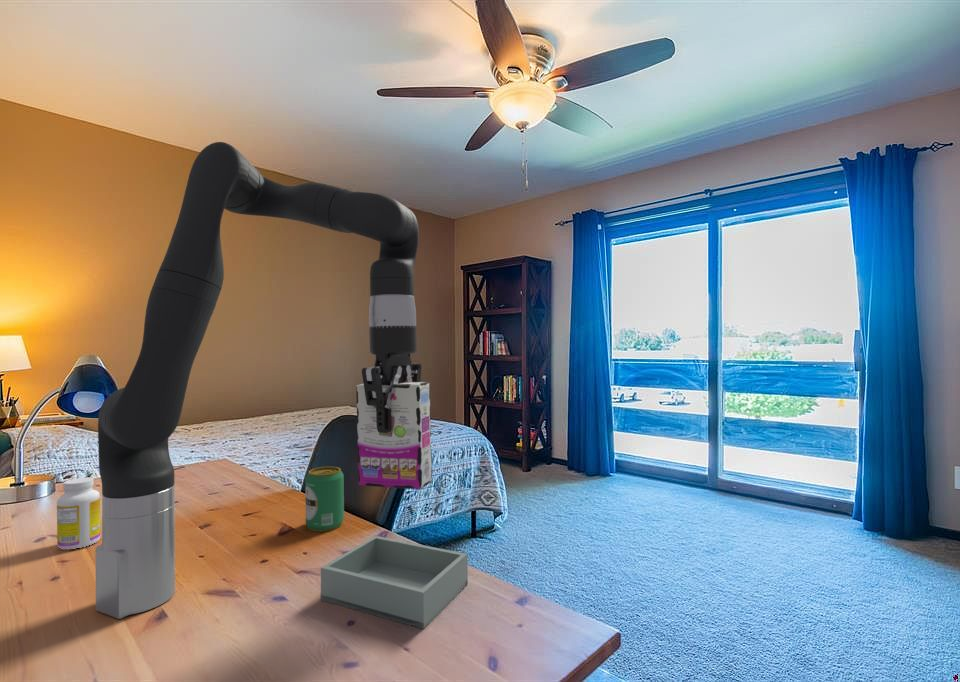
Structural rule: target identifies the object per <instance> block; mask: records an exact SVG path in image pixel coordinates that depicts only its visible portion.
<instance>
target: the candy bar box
mask: <svg viewBox="0 0 960 682" xmlns="http://www.w3.org/2000/svg"><path fill="white" fill-rule="evenodd" d="M430 386H431V385H430V382H428V381H420V382H403V383H398V384H397V385H396V393H395V394H394V395H393V397H392V402H391V407H390V408H389V409H391V432H388V433H380V432H378V431H377V422H376V420H377V419H376V408H374V407H373V406H368V405H367V403H366V397H365V390H364V384H363V383H361V384H357V385H356V386H355V389H356V425H357V426H356V427H357V428H356V429H357V431H356V433H357V434H356V435H357V436H356V437H357V438H356V439H357V440H356V441H357V472H358V474H357V476H358V477H357V479H358V481H357V482H358V486H363V487H373V488H374V487H377V488H391V489H392V488H393V489H407V490H408V489H410V490H422V489H424V488H425V487H426V486H428V485H429V484H431V482H432V481H433V472H432V471H433V468H432V467H433V466H432V431H431V429H432V428H431V427H432V426H431V389H430V388H431V387H430ZM389 387H390V386H388V385H382V388H389ZM372 394H373V398H375V395H376V393H375V392H374V391H372ZM383 397H384V400H385V397H386V394H383Z"/></svg>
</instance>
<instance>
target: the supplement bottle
mask: <svg viewBox="0 0 960 682" xmlns="http://www.w3.org/2000/svg"><path fill="white" fill-rule="evenodd" d="M94 483H95V482H94V478H93V477H78V478H72V479H69V480H68V479H67V480H66V481H64V482H63V483H62V484H63V485H62V489H63V491H64V494H62V495H60V496H59V497H58V499H57V500H56V520H57V521H56V530H57V531H56V534H57V536H56V538H57V539H56V540H57V543H56V544H57V548H58V547H59V548H62V549H73V548H80V549H82V548H81V547H84V548H87V547H90V546H93V545H95V544H96V543H98V542H99V541H100V539H101V495H100V492H99V491H98V490H96V489H94V488H93V486H94V485H95V484H94ZM94 543H95V544H94ZM92 544H93V545H92ZM89 545H90V546H89ZM86 546H87V547H86ZM59 548H58V549H59Z"/></svg>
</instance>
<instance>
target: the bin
mask: <svg viewBox="0 0 960 682" xmlns="http://www.w3.org/2000/svg"><path fill="white" fill-rule="evenodd" d="M468 575H469V573H468V553H465V552H461V551H455V550H454V551H453V550H451V549H450V550H449V549H445V548H444V549H443V548H440V547H434V546H429V545H424V544H419V543H415V542H414V543H413V542H409V541H404V540H398V539H394V538H393V539H392V538H388V537H384V536H378V535H374V536H373V537H371V538H369V539H367V540H364V542H362V543H361V544H358V545H357V546H355V547H354V548H351V549H350V550H348V551H346V552H345V553H343V554H342V555H340V556H338V557H337V558H335V559H333V560H331V561H329V562H328V563H327V564H324V565H323V566H321V567H320V600H321V601H322V602H327V603H330V604H334V605H338V606H341V607H345V608H349V609H352V610H356V611H359V612H362V613H366V614H370V615H372V616H377V617H379V618H383V619H384V618H385V619H386V620H391V621H394V622H398V623H401V624H404V623H405V625H408V624H409V625H408V626H411V625H413V626H412V627H415V626H416V628H419V629H423V630H424V629H425V628H426V627H427V626H428V625H429V624H430V623H431V622H433V620H435V618H436V617H437V616H438V615H439V614H440V613H441V612H442V611H443V610H444V609H446V607H447V606H449V604H450V603H451V602H452V601H453V600H454V599H455V598H456V597H457V596H458V595H459V594H460V593H461V592H462V591H463V590H464V589H465V588H466V587H467V586H468V585H467V584H468V582H469V581H468V579H469V578H468ZM466 585H467V586H466ZM465 586H466V587H465ZM464 587H465V588H464ZM463 588H464V589H463ZM462 589H463V590H462ZM461 590H462V591H461ZM460 591H461V592H460ZM459 592H460V593H459Z"/></svg>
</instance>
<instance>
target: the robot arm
mask: <svg viewBox="0 0 960 682" xmlns="http://www.w3.org/2000/svg"><path fill="white" fill-rule="evenodd" d="M185 187H186V188H185V191H184V195H183V199H182V203H181V207H180V211H179V214H178V218H177V221H176V224H175V227H174V230H173V233H172V235H171V239H170V242H169V245H168V247H167V250H166V252H165V254H164V258H163V260H162V261H161V265H160V267H159V269H158V271H157V274H156V276H155V279H154V282H153V284H152V287H151V289H150V292H149V296H148V299H147V304H146V309H145V316H144V324H143V325H144V326H143V335H142V336H143V337H142V343H141V349H140V352H139V354H138V357H137V360H136V363H135V365H134V367H133V369H132V372H131V374H130V376H129V378H128V380H127V383H126V384H125V386H124V387H122V388H119V389H117V390H115V391H113V392H112V393H111V394H110V395H108V396H107V398H106V399H105V400H104V401H103V403H102V404H101V406H100V409H99V412H98V417H97V418H98V419H97V420H98V421H97V441H98V442H97V443H98V444H97V445H98V446H97V447H98V470H99V476H100V481H101V496H102V497H101V505H102V506H101V507H102V508H101V510H102V511H101V512H102V513H101V515H102V516H101V523H102V524H101V526H102V527H101V528H102V529H101V531H102V533H101V534H102V535H101V541H102V542H101V544H99V545H97V546H96V547H95V549H94V550H95V552H94V553H95V558H94V559H95V560H94V561H95V611H97V612H100V613H102V614H105V615H107V616H110V617H112V618H116V619H118V620H119V619H123V618H125V617H127V616H131V615H135V614H136V615H137V614H140V613H143V612H146V611H149V610H151V609H155V608H157V607H159V606H161V605H162V604H164V603H166V602H167V601H169V600H170V599H172V597H173V596H174V595H175V592H176V569H175V568H176V567H175V566H176V563H175V562H176V557H175V556H176V555H175V554H176V553H175V552H176V550H175V549H176V546H175V545H176V544H175V543H176V542H175V541H176V538H175V537H176V535H175V530H176V529H175V526H176V524H175V517H176V516H175V508H176V507H175V504H176V503H175V495H176V494H175V491H176V490H175V483H176V482H175V468H174V465H173V462H172V460H171V457H170V451H169V438H170V437H171V436H172V435H173V433H174V432H175V430H176V429H177V427H178V425H179V423H180V419H181V416H182V410H183V406H184V401H185V396H186V393H187V387H188V383H189V379H190V375H191V372H192V368H193V364H194V362H195V359H196V357H197V354H198V353H199V352H198V351H199V349H200V347H201V345H202V342H203V341H204V338H205V335H206V331H207V330H208V326H209V323H210V320H211V318H212V315H213V314H214V310H215V308H216V305H217V303H218V300H219V297H220V294H221V291H222V287H223V285H224V279H225V277H224V276H225V270H224V269H225V268H224V259H223V251H222V242H221V223H222V217H223V214H224V211H225V210H226V211H228V212H230V213H234V214H239V215H246V216H247V215H248V216H255V217H256V216H259V217H261V216H262V217H271V218H278V219H286V220H292V221H298V222H302V223H305V224H310V225H314V226H318V227H321V228H325V229H327V230H332V231H334V232H339V233H345V234H355V235H359V236H362V237H365V238H367V239H368V238H369V239H371V240H374V241H377V242H379V243H380V244H379V245H380V247H379V254H378V255H379V257H378V259H377V260H375V261H374V262H373V263H372V264H371V266H370V271H369V285H370V286H369V297H370V301H369V308H368V324H369V325H368V328H369V333H368V334H369V353H370V354H371V355H374V356H375V361H374V365H373V366H371V367H363V368H362V369H361V375H362V382H363V383H362V384H364V390H365V397H366V403H367V405H368V406H373V407H374V408H376V419H377V420H376V422H377V431H378V432H380V433H388V432H391V409H389V408H390V407H391V402H392V397H393V395H394V394H395V393H396V385H397V384H398V383H403V382H421V379H422V378H421V377H422V363H413V362H412V359H411V354H415V353H416V352H417V348H418V345H417V344H418V343H417V339H418V338H417V309H416V303H415V301H416V300H415V283H414V282H415V280H414V276H415V275H414V268H415V264H416V260H417V254H418V248H419V247H418V246H419V240H420V238H419V237H420V230H419V223H418V219H417V217H416V215H415V213H414V212H413V211H412V209H409V207H407V206H405V205H404V204H403V203H401V202H399V201H398V200H397V199H394V198H392V197H391V196H387V195H383V194H379V193H375V192H365V191H363V192H362V191H352V190H351V189H350V190H349V189H347V188H342V187H338V186H334V185H330V184H326V183H321V182H304V183H301V184H298V185H297V184H296V185H284V184H281V183H278V182H276V181H274V180H271V179H269V178H267V177H265V176H263V175H262V174H261V172H260V171H259V170H258V169H257V168H256V167H255V166H254V165H253V164H252V163H251V162H250V161H249V160H248V159H247V158H246V157H245V156H244V155H243V154H242V153H241V152H240V151H239V150H238V149H237V148H235V146H233V145H231V144H229V143H227V142H224V141H215V142H212V143H210V144H209V145H207V146H205V147H204V148H203V149H201V151H200V152H199V153H198V154H197V156H196V158H195V159H194V161H193V163H192V166H191V168H190V172H189V175H188V179H187V182H186V186H185ZM382 385H388V386H390V387H389V388H382ZM372 391H374V392H375V393H376V395H375V398H373V394H372ZM383 394H386V397H385V400H384V397H383Z"/></svg>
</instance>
